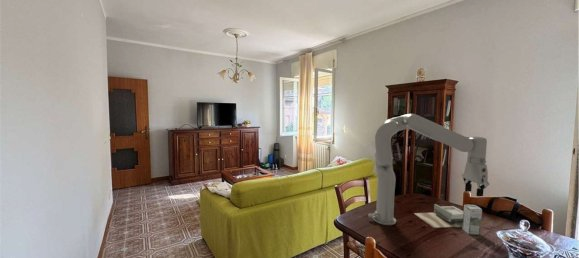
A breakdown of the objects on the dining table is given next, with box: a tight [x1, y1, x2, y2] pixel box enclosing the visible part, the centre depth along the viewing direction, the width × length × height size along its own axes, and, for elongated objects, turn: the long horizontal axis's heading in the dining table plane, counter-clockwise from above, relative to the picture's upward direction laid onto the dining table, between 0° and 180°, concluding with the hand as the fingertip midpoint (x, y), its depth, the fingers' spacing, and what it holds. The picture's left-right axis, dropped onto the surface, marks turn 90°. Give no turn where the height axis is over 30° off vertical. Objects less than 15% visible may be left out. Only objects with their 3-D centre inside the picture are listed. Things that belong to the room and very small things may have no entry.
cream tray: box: [413, 211, 463, 229], centre depth 143 cm, size 26×18×1 cm
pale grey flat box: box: [433, 203, 464, 224], centre depth 143 cm, size 13×14×6 cm
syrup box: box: [461, 204, 483, 236], centre depth 128 cm, size 6×6×14 cm
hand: (473, 193), depth 127 cm, fingers open, 6 cm apart
